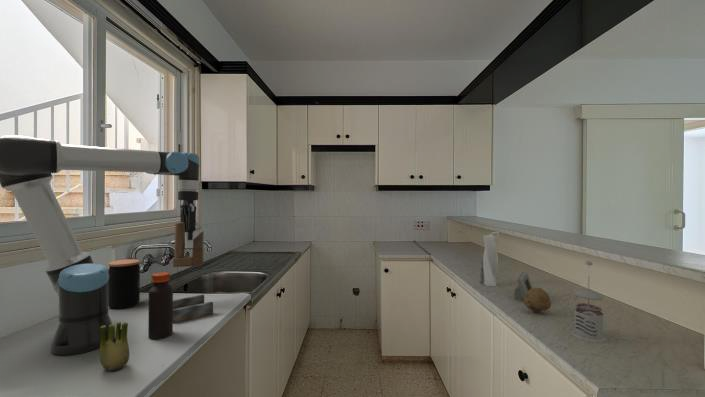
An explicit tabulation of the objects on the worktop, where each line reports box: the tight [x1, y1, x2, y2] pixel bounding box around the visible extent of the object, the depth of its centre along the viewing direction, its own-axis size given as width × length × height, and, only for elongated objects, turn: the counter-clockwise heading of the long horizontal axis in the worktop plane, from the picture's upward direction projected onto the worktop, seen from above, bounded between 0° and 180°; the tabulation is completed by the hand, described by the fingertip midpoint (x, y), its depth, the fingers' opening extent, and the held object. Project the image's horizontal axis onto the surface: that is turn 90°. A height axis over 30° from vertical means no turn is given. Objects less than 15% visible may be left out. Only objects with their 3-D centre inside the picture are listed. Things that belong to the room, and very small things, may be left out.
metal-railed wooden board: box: [173, 294, 214, 324], centre depth 124 cm, size 14×13×4 cm
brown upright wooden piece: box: [172, 221, 205, 268], centre depth 133 cm, size 4×11×18 cm, turn 104°
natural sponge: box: [523, 287, 552, 314], centre depth 128 cm, size 9×9×10 cm
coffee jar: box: [107, 258, 141, 310], centre depth 133 cm, size 11×11×18 cm
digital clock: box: [513, 272, 534, 302], centre depth 147 cm, size 16×9×11 cm, turn 133°
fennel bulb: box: [99, 321, 130, 372], centre depth 85 cm, size 6×5×12 cm
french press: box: [564, 260, 608, 344], centre depth 108 cm, size 10×12×25 cm
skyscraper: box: [479, 231, 500, 288], centre depth 168 cm, size 8×8×28 cm
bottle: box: [147, 271, 174, 340], centre depth 105 cm, size 7×7×20 cm
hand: (187, 247), depth 132 cm, fingers closed on brown upright wooden piece, 5 cm apart
